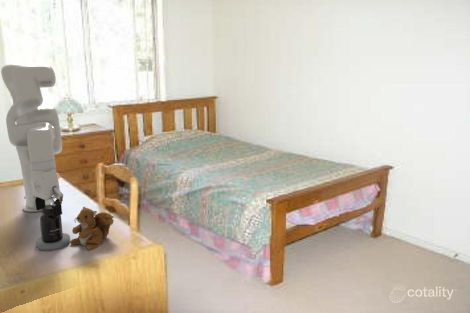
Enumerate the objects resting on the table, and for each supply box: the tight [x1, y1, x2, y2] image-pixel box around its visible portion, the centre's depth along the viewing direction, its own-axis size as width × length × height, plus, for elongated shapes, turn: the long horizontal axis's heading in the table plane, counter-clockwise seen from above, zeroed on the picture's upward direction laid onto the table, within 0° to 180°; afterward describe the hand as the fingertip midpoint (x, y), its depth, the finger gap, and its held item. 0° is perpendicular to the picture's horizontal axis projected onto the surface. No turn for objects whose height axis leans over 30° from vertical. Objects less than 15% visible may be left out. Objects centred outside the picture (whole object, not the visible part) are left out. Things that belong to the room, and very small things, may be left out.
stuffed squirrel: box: [69, 206, 115, 251], centre depth 148 cm, size 10×14×13 cm
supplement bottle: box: [39, 205, 64, 243], centre depth 147 cm, size 7×7×12 cm
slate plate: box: [35, 232, 71, 252], centre depth 148 cm, size 11×11×2 cm
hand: (49, 212), depth 146 cm, fingers open, 9 cm apart
